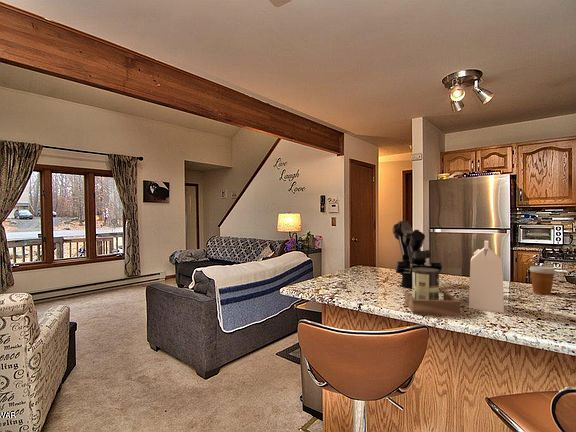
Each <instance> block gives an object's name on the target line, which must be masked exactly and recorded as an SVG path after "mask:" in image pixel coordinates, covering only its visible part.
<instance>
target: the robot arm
mask: <svg viewBox="0 0 576 432" xmlns="http://www.w3.org/2000/svg"><path fill="white" fill-rule="evenodd" d="M392 234H393V236H394V238H395V239H396V240H398V244H399V248H400V252H401V260H400V261H397V262H396V264H395V273H396V274H400V276H401V284H399V285H398V286H400V287H404V288H407V289H412V268H417V267H425V268H434V269H438V270H439V274H440V273H441V271H442V268H443V264H442V262H440V261H431V262H430V264H427V263H426V262H427V261H426V260H427V259H431V257H432V253H431V251H430V249H425V250H422V249H421V248H422V247H423V245H424V242H425V238H426V234H424V232H422V231H420V229H414V230H413V229H412V227H411V225H410V221H407V220H400V221H398V222H397V223H395V224H394V225H393V227H392Z"/></svg>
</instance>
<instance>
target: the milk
mask: <svg viewBox="0 0 576 432" xmlns="http://www.w3.org/2000/svg"><path fill="white" fill-rule="evenodd" d="M483 245H484V246H483V248H481V249H479V248H477V250H475V251H474V252H473V255H472V257H471V258H470V267H469V270H470V271H469V292H468V309H471V308H473V310H478V309H479V311H486V312H491V313H492V312H494V313H501V314H505V307H504V306H505V302H504V301H505V300H504V299H505V298H504V277H503V275H504V274H503V259H502V258H501V257H500V256H499V255H498V254H496V253H495V252H494V251H493V250H492V249H491V248H490V247H489V240H484V244H483Z"/></svg>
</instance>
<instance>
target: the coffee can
mask: <svg viewBox="0 0 576 432" xmlns="http://www.w3.org/2000/svg"><path fill="white" fill-rule="evenodd" d="M411 289H412V290H411V291H412V293H411V295H412V296H413V297H414V298H415V299H419V300H440V273H439V270H438V269H434V268H425V267H417V268H412V288H411Z"/></svg>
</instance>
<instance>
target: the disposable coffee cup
mask: <svg viewBox="0 0 576 432" xmlns="http://www.w3.org/2000/svg"><path fill="white" fill-rule="evenodd" d="M528 270H529V271H530V278H531V285H532V286H531V287H532V291H533V293H534V294H537V295H542V296H550V295H551V294H552V288H553V284H554V283H553V282H554V276H555V273H557V272H556V270H555V267H551V266H545V265H530V267H529V269H528Z"/></svg>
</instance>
